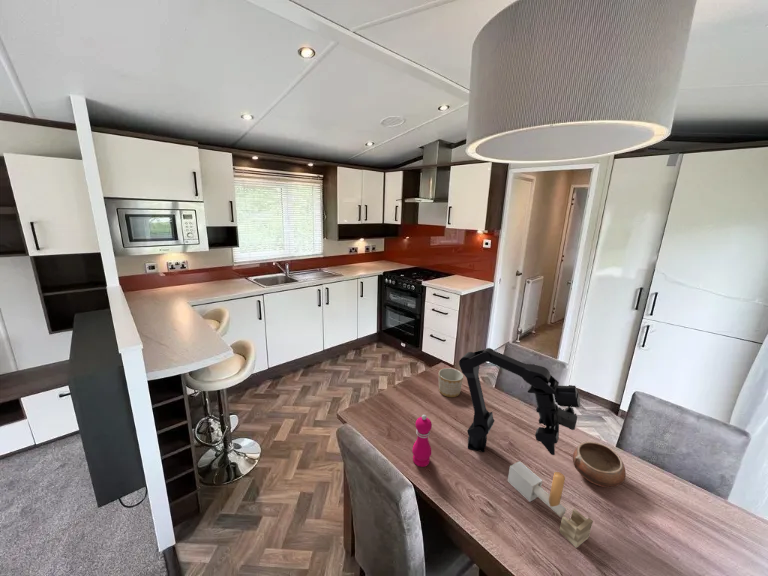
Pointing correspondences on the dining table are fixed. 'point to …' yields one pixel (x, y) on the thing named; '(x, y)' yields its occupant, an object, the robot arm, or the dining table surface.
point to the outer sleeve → (523, 480)
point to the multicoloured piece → (553, 494)
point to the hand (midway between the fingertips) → (554, 446)
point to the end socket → (576, 528)
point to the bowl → (599, 464)
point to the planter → (450, 382)
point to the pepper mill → (422, 442)
